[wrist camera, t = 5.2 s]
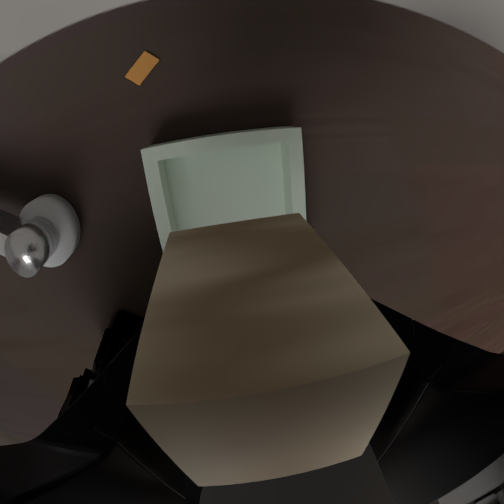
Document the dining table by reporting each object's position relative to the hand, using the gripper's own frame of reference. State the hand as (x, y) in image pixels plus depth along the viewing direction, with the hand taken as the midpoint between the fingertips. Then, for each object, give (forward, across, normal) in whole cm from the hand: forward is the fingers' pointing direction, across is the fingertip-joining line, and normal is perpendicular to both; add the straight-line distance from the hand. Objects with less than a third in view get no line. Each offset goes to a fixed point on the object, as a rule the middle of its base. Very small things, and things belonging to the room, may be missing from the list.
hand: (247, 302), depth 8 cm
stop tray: (+11, 0, 0) cm, 11 cm away
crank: (+9, +17, -3) cm, 20 cm away
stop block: (+1, 0, 0) cm, 1 cm away
